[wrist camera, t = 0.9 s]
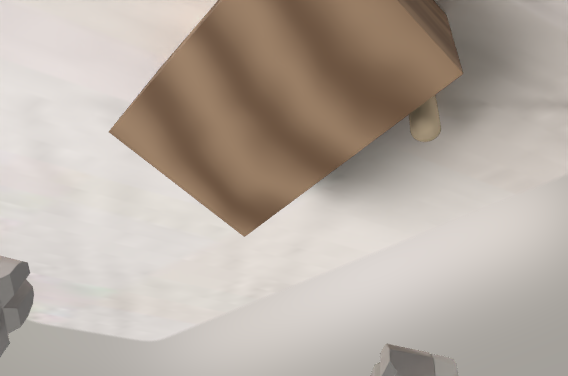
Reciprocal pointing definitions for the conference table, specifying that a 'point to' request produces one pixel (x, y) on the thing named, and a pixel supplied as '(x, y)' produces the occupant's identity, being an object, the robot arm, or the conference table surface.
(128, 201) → the conference table surface
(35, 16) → the conference table surface
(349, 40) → the walnut shelf
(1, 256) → the robot arm
